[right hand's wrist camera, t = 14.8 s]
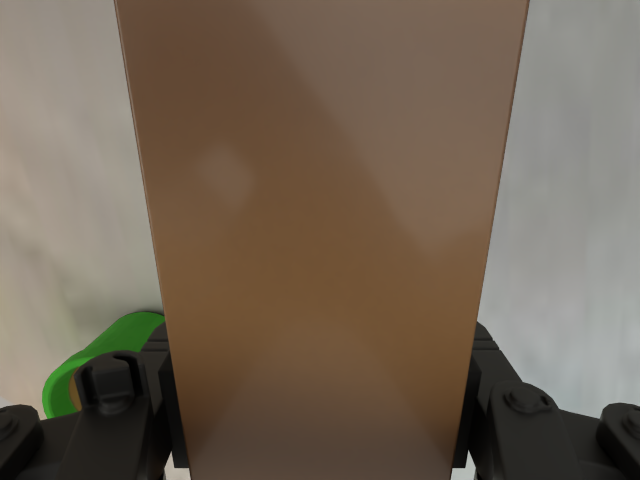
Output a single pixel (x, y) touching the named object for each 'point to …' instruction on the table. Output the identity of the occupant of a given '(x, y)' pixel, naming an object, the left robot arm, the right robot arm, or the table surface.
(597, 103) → the table surface
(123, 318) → the potted flower
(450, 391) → the bar
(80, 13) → the table surface
